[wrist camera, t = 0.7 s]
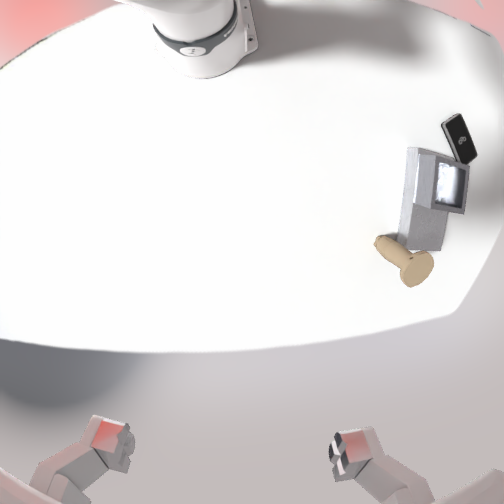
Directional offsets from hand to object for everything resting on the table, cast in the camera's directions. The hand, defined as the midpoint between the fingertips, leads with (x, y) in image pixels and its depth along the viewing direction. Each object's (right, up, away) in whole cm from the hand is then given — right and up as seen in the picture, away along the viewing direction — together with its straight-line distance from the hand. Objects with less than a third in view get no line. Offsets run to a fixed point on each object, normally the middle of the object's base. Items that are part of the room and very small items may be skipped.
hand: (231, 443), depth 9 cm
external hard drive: (+47, +32, +37) cm, 68 cm away
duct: (+36, +18, +41) cm, 57 cm away
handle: (+27, +9, +44) cm, 52 cm away
